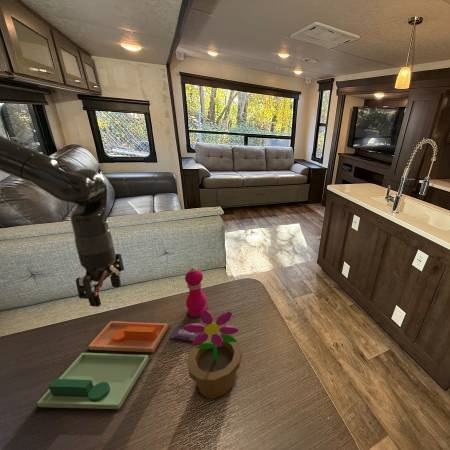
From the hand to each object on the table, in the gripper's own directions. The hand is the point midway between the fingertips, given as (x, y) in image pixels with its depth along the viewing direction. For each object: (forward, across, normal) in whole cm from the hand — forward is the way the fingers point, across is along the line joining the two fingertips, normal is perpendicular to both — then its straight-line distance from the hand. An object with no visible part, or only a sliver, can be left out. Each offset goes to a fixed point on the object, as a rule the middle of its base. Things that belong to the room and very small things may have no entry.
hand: (107, 295), depth 71 cm
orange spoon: (+19, -3, +3) cm, 20 cm away
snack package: (+19, -5, +21) cm, 29 cm away
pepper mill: (+19, -17, +19) cm, 32 cm away
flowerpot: (+19, +10, +34) cm, 40 cm away
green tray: (+20, +12, +3) cm, 23 cm away
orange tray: (+20, -3, +3) cm, 20 cm away
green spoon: (+19, +15, +1) cm, 25 cm away
